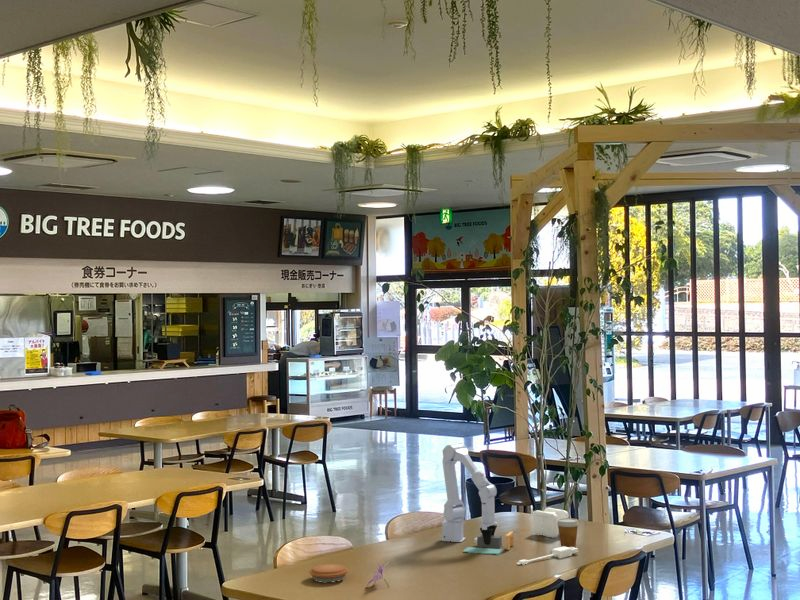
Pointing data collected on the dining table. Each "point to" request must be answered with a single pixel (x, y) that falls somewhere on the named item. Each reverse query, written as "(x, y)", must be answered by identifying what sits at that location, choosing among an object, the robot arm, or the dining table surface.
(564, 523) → the disposable coffee cup
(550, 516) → the cable organizer
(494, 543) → the grey box
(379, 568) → the lily
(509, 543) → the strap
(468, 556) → the dining table surface
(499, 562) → the dining table surface
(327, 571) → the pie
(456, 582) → the dining table surface
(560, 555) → the charging cable
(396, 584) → the dining table surface
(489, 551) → the mat
